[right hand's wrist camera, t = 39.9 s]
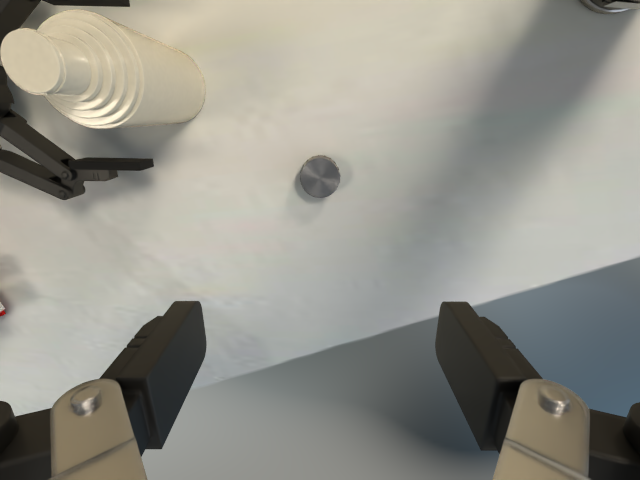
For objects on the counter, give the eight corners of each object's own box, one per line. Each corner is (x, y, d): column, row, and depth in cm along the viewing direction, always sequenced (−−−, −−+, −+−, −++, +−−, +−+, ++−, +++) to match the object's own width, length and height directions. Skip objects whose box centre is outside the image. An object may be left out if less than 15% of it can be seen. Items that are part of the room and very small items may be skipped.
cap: (313, 200, 41) (313, 205, 39) (293, 168, 40) (292, 171, 37) (346, 180, 40) (347, 184, 38) (326, 147, 39) (327, 149, 37)
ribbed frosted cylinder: (126, 49, 35) (-68, -14, 18) (198, 44, 35) (75, -26, 18) (144, 125, 38) (-10, 137, 20) (211, 121, 38) (115, 128, 20)
